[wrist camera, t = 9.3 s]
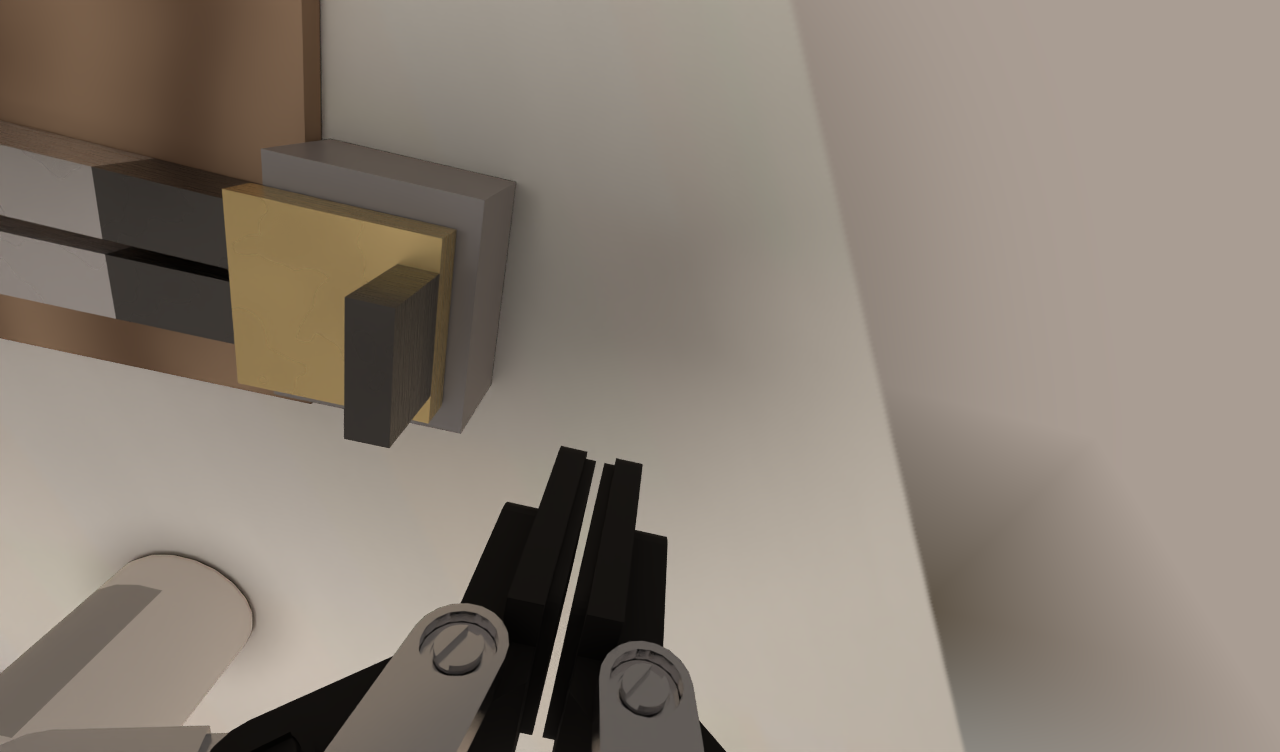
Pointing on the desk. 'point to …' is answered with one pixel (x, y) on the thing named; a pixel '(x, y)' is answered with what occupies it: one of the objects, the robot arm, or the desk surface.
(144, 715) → the spray bottle
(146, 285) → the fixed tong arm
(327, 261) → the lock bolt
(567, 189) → the desk surface
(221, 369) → the tong board
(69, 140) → the tong arm
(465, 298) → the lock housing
